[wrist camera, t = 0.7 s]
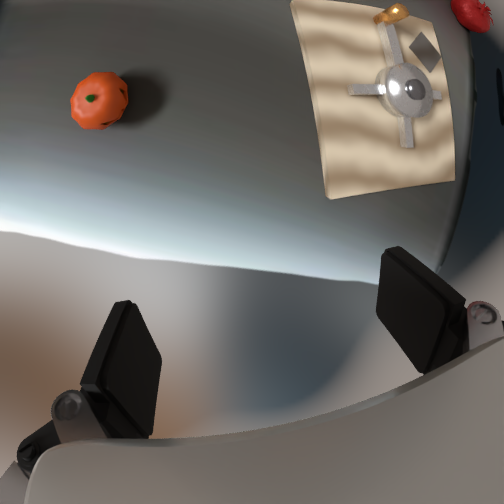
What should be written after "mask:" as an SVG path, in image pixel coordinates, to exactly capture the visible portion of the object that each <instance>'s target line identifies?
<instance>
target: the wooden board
mask: <svg viewBox="0 0 504 504" xmlns="http://www.w3.org/2000/svg"><path fill="white" fill-rule="evenodd" d="M289 5H290V8H291V11H292V15H293V19H294V22H295V26H296V30H297V34H298V38H299V42H300V46H301V50H302V54H303V59H304V63H305V68H306V72H307V77H308V82H309V87H310V92H311V97H312V103H313V108H314V114H315V120H316V126H317V132H318V139H319V145H320V152H321V160H322V168H323V176H324V184H325V194H326V197H328V198H330V199H336V198H342V197H348V196H353V195H359V194H365V193H371V192H377V191H384V190H390V189H396V188H403V187H410V186H417V185H424V184H431V183H438V182H446V181H454V180H455V153H454V135H453V123H452V114H451V106H450V99H449V92H448V86H447V81H446V76H445V71H444V66H443V62H442V58H441V53H440V50H439V46H438V42H437V39H436V35H435V32H434V29H433V26H432V23H431V22H429V21H426V20H423V19H419V18H416V17H413V16H408V17H407V18H405V19H402V20H400V21H398V22H396V23H393V24H394V28H395V31H396V34H397V38H398V41H399V45H400V49H401V53H402V57H403V61H404V63H411V64H413V65H415V66H417V67H418V68H419V69H421V70H422V71H423V72H424V74H425V75H426V76H427V78H428V80H429V82H430V84H431V87H432V90H436V91H441V97H442V100H434V99H433V104H432V107H431V110H430V111H429V113H428V114H427V115H425V116H423V117H419V118H414V117H411V125H412V134H413V146H414V147H412V148H405V147H400V137H399V128H398V119H397V117H396V116H393V115H391V114H390V113H388V112H387V111H386V110H385V109H384V108H383V107H382V105H381V104H380V102H379V100H378V98H377V95H349V94H348V88H347V85H350V84H375V79H376V76H377V74H378V73H379V71H380V70H382V69H383V68H386V67H387V63H386V58H385V54H384V50H383V46H382V42H381V39H380V35H379V31H378V28H377V25H376V24H375V22H374V20H373V17H374V16H375V15H377V14H378V13H380V12H382V11H384V10H385V9H381V8H376V7H371V6H365V5H359V4H352V3H345V2H336V1H326V0H292V1H291V3H290V4H289Z"/></svg>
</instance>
